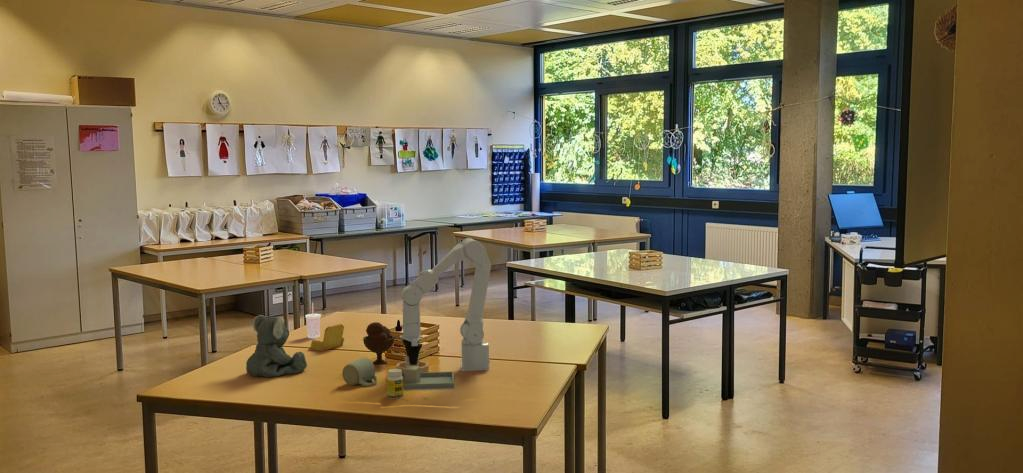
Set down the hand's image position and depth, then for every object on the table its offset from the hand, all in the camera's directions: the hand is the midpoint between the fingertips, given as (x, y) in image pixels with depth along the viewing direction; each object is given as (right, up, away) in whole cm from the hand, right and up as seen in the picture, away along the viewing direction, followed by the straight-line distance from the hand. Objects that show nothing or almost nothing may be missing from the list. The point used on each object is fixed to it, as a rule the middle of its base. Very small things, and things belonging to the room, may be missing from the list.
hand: (412, 362), depth 260 cm
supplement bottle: (-2, -7, -26) cm, 27 cm away
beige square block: (+2, -5, -13) cm, 13 cm away
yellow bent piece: (-37, -1, +38) cm, 53 cm away
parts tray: (+6, -5, -11) cm, 14 cm away
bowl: (0, -4, 0) cm, 4 cm away
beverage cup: (-47, +1, +55) cm, 72 cm away
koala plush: (-47, -4, +4) cm, 48 cm away
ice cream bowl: (-13, -3, +12) cm, 18 cm away
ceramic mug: (-15, -5, -11) cm, 19 cm away
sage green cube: (0, -3, 0) cm, 3 cm away
